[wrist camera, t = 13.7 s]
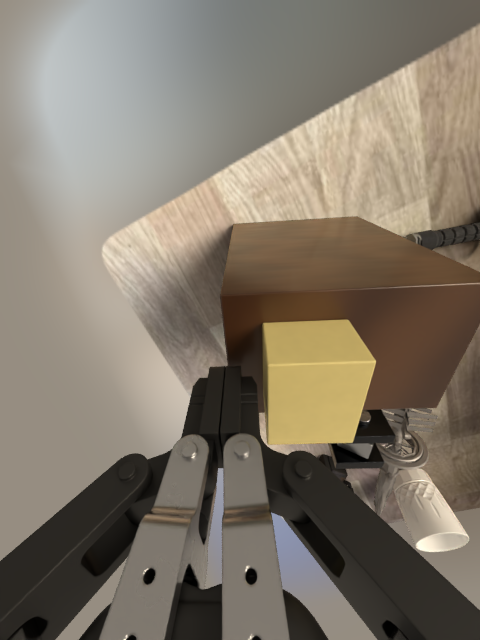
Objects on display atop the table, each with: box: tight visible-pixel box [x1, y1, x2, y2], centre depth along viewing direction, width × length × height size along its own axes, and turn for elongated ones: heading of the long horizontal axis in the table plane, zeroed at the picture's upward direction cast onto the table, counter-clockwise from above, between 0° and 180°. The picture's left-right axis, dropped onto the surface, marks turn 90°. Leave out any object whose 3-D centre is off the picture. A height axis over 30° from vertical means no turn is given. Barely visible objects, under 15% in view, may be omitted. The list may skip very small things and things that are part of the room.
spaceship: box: [374, 408, 438, 516], centre depth 36 cm, size 8×35×8 cm
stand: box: [220, 217, 480, 413], centre depth 20 cm, size 12×8×16 cm, turn 93°
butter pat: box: [262, 319, 376, 445], centre depth 12 cm, size 4×5×3 cm
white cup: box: [393, 468, 469, 552], centre depth 44 cm, size 8×8×10 cm
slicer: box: [328, 409, 396, 469], centre depth 28 cm, size 14×8×13 cm, turn 93°
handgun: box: [319, 455, 354, 492], centre depth 48 cm, size 3×14×10 cm
